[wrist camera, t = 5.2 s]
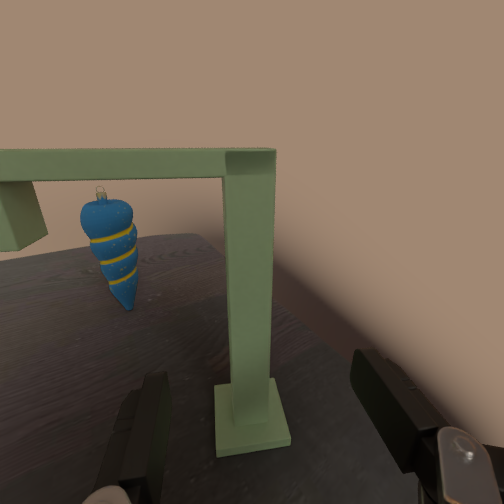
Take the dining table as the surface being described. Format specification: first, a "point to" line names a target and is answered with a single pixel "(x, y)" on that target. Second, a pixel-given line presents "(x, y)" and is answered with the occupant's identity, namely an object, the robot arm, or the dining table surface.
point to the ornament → (113, 244)
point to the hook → (236, 255)
